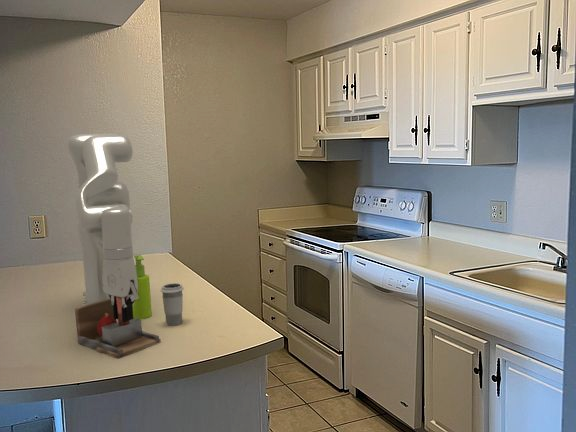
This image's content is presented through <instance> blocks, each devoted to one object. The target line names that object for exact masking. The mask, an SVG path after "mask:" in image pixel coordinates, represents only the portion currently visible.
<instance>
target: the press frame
mask: <svg viewBox="0 0 576 432" xmlns="http://www.w3.org/2000/svg"><path fill="white" fill-rule="evenodd" d="M105 313H108V314H109V315H110V316H112V317H113V318H114V314H113V305H112V304H111V299H110V298H109V299H105V300H102V301H98V302H95V303H91V304H88V305H85V306H82V305H81V306H78V307H74V315H75V323H76V324H75V325H76V335H77V336H76V337H77V343H78V344H79V345H81V346H84V347H87V348H90V349H92V350H95V351H96V352H98V353H101V354H103V355H106V356H109V357H112V358H115V359H121V358H124V357H127V356H128V355H132V354H135V353H137V352H139V351H143V350H145V349H147V348H149V347H152V346H155V345H158V344H160V343H161V342H162V341H161V338H160V336H159V335H156V334H155V333H150V332H147V331H143V330H142V337H140V338H137V339H135V340H132V341H129V342H126V343H124V344H121V345H118V346H116V347H113V346H110V345H107V344H104V343H103V342H101V341H99V340H95V339H98V338H100V337H101V336H100V335H99V334H98V332H97V325H98V322H99V321H100V319H101V318H103V317H104V314H105ZM115 320H116V321H117V319H115ZM101 338H102V337H101ZM157 343H158V344H157Z"/></svg>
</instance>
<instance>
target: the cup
mask: <svg viewBox="0 0 576 432" xmlns="http://www.w3.org/2000/svg"><path fill="white" fill-rule="evenodd" d="M184 289H185V288H184V287H183V285H182V283H180V282H170V283H166V284H163V285H162V286H161V289H160V292H161V293H162V301H163V302H162V304H163V310H164V315H165V321H166V325H167V326H168V327H169V326H170V327H175V326H176V327H177V326H180V325H181V324H183V295H184V294H183V290H184Z"/></svg>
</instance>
